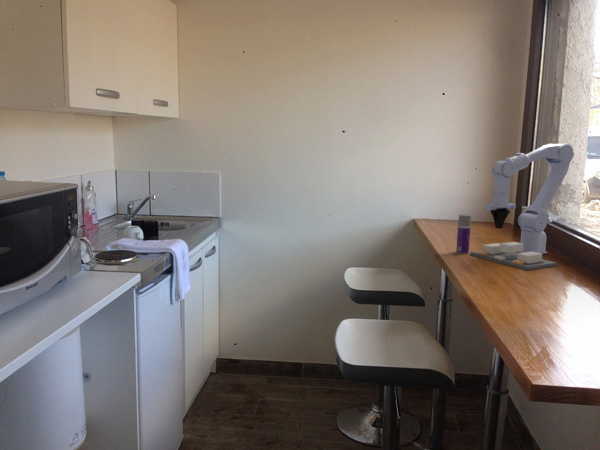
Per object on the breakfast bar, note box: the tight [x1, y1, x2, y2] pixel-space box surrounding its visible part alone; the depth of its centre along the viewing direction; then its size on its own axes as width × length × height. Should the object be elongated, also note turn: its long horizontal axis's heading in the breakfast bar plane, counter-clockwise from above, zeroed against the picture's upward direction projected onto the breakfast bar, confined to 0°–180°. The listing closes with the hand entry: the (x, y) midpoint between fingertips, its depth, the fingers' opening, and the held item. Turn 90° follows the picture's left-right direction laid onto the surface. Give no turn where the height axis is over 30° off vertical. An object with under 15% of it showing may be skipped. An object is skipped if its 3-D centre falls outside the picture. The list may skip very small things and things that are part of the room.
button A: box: [481, 243, 505, 254], centre depth 202 cm, size 8×4×3 cm, turn 119°
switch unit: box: [469, 250, 558, 271], centre depth 196 cm, size 15×26×2 cm, turn 29°
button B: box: [499, 241, 524, 253], centre depth 195 cm, size 8×4×3 cm, turn 119°
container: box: [455, 213, 472, 255], centre depth 206 cm, size 5×5×15 cm
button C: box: [517, 251, 544, 264], centre depth 188 cm, size 8×4×3 cm, turn 119°
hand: (498, 228), depth 203 cm, fingers closed
